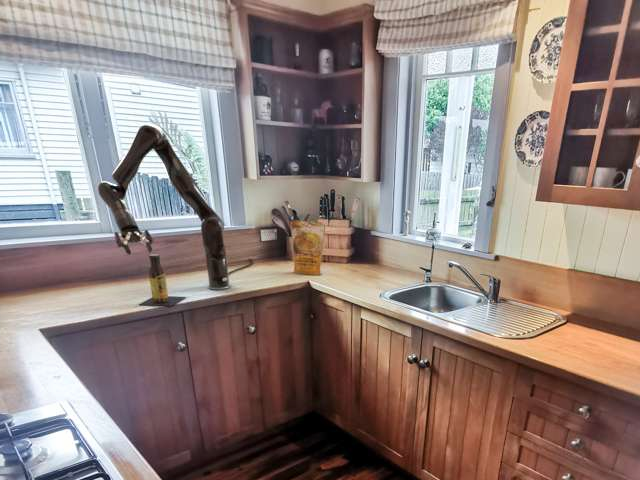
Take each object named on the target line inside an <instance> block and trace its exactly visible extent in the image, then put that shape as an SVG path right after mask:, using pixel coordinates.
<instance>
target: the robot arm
mask: <svg viewBox="0 0 640 480" xmlns="http://www.w3.org/2000/svg"><path fill="white" fill-rule="evenodd" d="M151 151H154V153H156V155H157V156H158V158H159V159H160V161H161V162H162V164H163V166H164V169H165V172H166V175H167V177H168V180H169V182H170V184H171V185H172V186H173V188H174V190H175V191H176V192H177V194H178V195H179V196H180V198H181V199H182V200H183V201H184V202H185V203H186V204H187V205H188V206H189V207H190V208H191V209H192V210H193V211H194V212H195V214H196V215H197V217H198V219H199V221H200V222H201V225H200V233H201V237H202V238H201V239H202V245H203V249H204V254H205V260H206V261H205V262H206V269H207V278H208V287H209V289H210V290H214V291H218V290H219V291H220V290H221V291H222V290H227V289H229V288H230V281H229V280H230V279H229V275H230V274H233V273H235V272H238V271H240V270H242V269H245V268H248V267H249V266H251V265H252V264H253V260H252V259H251V258H249V259H250V260H249V259H248V261H249V262H250V263H248V264H247V265H246V264H245V265H244V266H242V267H239V268H236V269H234V270H230V271H229V270H228V261H227V251H226V245H225V242H224V234H223V232H224V230H225V225H224V222H223V220H222V219H221V218H220V216H219V215H218V214H217V212H216V211H215V210H214V208H212V206H211V204H210V203H209V202H208V201H207V199H206V197H205V196H204V193H203V191H202V190H201V189H200V187H199V185H198V183H197V182H196V181H195V179H194V178H193V176H192V175H191V173H190V172H189V170H188V169H187V168H186V166H185V164H184V163H183V162H182V160H181V159H180V158H179V156H178V155H177V153H176V152H175V150H174V147H173V146H172V144H171V142H170V140H169V138H168V137H167V135H166V133H165V131H163V129H162V128H161V127H160V126H158V125H155V124H151V123H149V124H147V123H146V124H143V125H141V126H140V127H138V129H137V132H136V134H135V136H134V138H133V140H132V143H131V145H130V147H129V149H128V150H127V152H126V154H125V155H124V156H123V158H122V159H121V161H120V162H119V164H118V166H117V167H115V168H116V169H114V171H113V172H112V175H111V177H112V180H113V181H114V182H115V183H116V184H114V183H111V182H108V181H101V182H100V183H99V184H98V185H97V192H98V195H99V197H100V198H101V200H102V201H103V202H104V203H105V205H106V206H107V207H108V208H109V209H110V212H111V215H112V216H113V219H114V222H115V225H116V226H117V228H118V230H119V232H120V233H119V232H118V231H117V232H116V231H115V232H114V236H113V237H114V239H115V242H116V245H117V248H123V249H124V252H125V253H126V254H128V255H132V251H131V249H130V247H129V243H133V244H134V243H140V244H143V245H144V246H145V247H146V249H147V252H148V253H152V251H153V247H152V246H151V245H153V241H154V239H153V237H152V236H151V234H150V232H149V230H148V229H145V230H144V231H141V230H140V228H139V225H138V223H137V222H136V219H135V217H134V216H133V213H132V212H131V211H130V208H129V207H128V204H127V203H126V201H125V200H124V199H125V197H126V195H127V191H128V188H129V185H130V184H131V182H132V181H133V179H134V178H135V177H136V175H137V173H138V172H139V170H140V167H141V164H142V162H143V160H144V159H145V157H146V156H147V155H148V154H149V153H150V152H151ZM121 238H122V239H123V240H124V241H123V242H122V240H121Z"/></svg>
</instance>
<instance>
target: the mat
mask: <svg viewBox="0 0 640 480" xmlns="http://www.w3.org/2000/svg"><path fill="white" fill-rule="evenodd" d="M185 299H186V296H172V295H168V301H166V302H160V303H158V302H154V301H153V297H152V296H151V297H150V298H148V299H146V300H145V301H143V302H141V303H139V306H146V307H147V306H148V307H168V308H172V307H174V306H175V305H177V304H178V303H180V302H182V301H184V300H185Z"/></svg>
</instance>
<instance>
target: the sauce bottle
mask: <svg viewBox="0 0 640 480" xmlns="http://www.w3.org/2000/svg"><path fill="white" fill-rule="evenodd" d="M148 259H149V261H150V268H149V269H148V275H149V283H150V291H151V298H152V297H153V301H154V302H158V303H160V302H166V301H168V296H169V292H168V286H167V279H166V273H165V271H164V269H163V267H162V265H161V264H162V263H161V260H160V259H161V257H160V254H158V253H152V254H148Z"/></svg>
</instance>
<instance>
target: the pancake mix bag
mask: <svg viewBox="0 0 640 480" xmlns="http://www.w3.org/2000/svg"><path fill="white" fill-rule="evenodd" d="M289 223H290V232H291V245H292V252H293V254H292V255H293V261H294V263H293V265H294V266H293V273H295V274H298V275H299V274H300V275H309V276H321V275H322V273H321V267H322V260H323V259H322V258H323V251H324V243H325V231H326V225H325V224H323V222H321V221H308V220H295V219H294V220H290V221H289Z"/></svg>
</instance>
